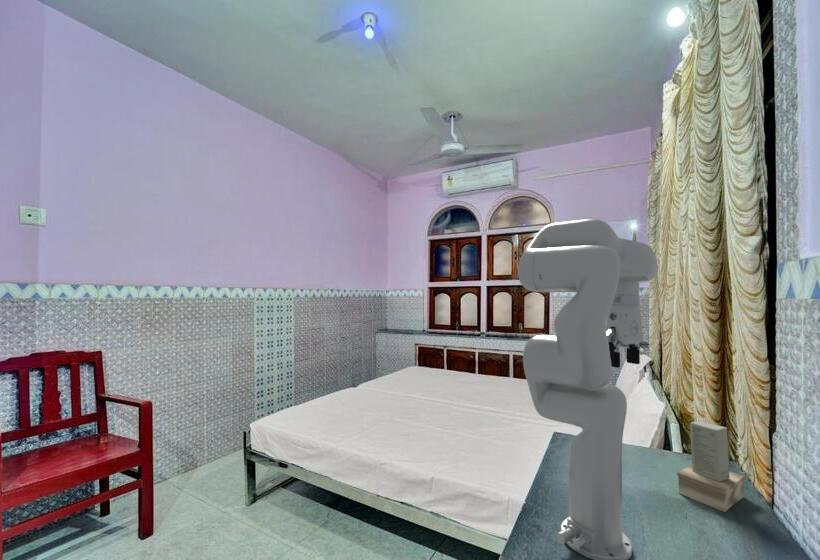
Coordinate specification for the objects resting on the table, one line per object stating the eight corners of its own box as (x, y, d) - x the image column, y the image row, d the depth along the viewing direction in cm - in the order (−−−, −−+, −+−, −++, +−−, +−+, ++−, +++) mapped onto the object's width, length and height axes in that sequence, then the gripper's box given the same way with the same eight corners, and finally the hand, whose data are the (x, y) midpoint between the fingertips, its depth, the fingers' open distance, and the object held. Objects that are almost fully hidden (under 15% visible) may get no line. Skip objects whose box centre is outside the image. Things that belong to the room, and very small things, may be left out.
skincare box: (730, 479, 88) (729, 428, 88) (719, 482, 86) (718, 430, 86) (700, 467, 93) (700, 419, 94) (690, 470, 92) (689, 421, 92)
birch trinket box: (725, 512, 82) (724, 490, 82) (677, 493, 90) (677, 472, 90) (745, 497, 89) (744, 476, 89) (698, 480, 97) (698, 460, 97)
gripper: (619, 301, 90) (620, 371, 90) (654, 301, 100) (654, 364, 99) (591, 301, 97) (591, 365, 96) (625, 301, 106) (626, 360, 105)
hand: (623, 365), depth 98 cm, fingers open, 9 cm apart
